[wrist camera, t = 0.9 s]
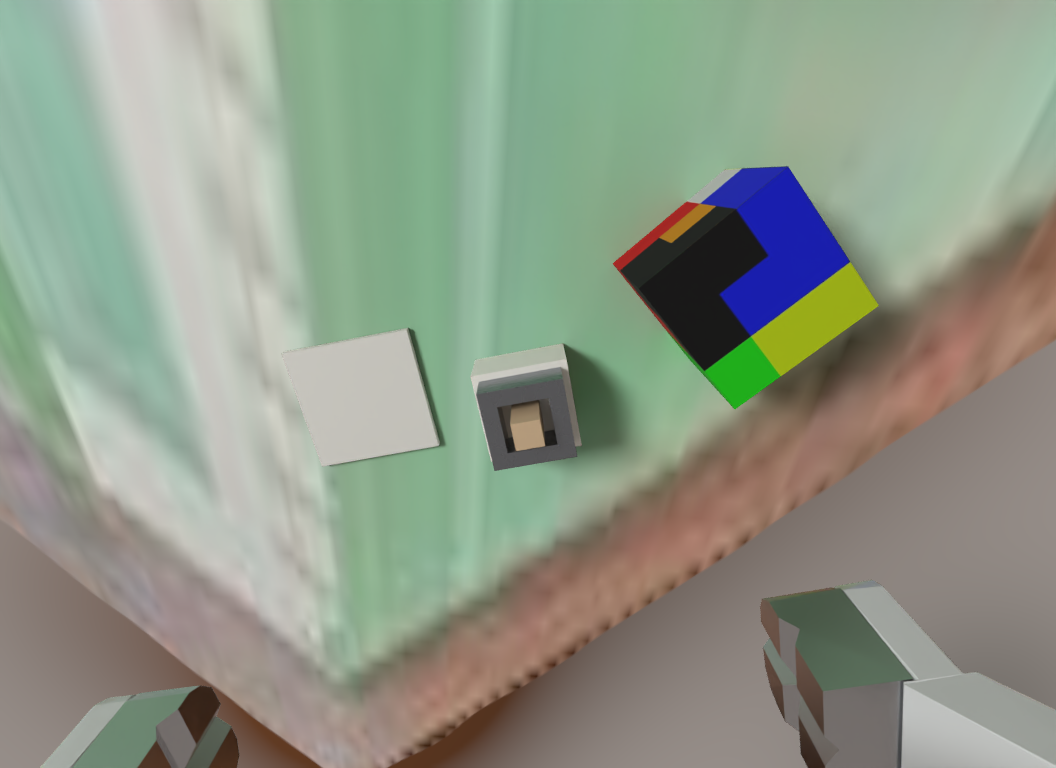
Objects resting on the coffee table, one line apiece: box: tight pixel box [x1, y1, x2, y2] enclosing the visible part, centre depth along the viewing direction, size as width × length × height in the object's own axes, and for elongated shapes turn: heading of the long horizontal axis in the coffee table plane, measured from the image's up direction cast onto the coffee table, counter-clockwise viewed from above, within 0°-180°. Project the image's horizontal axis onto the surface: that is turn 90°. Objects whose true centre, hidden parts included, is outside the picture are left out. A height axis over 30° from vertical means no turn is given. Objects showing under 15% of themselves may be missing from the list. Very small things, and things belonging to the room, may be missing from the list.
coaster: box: [281, 328, 440, 466], centre depth 45 cm, size 10×10×1 cm
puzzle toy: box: [613, 166, 879, 409], centre depth 37 cm, size 10×10×10 cm
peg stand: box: [471, 343, 582, 461], centre depth 41 cm, size 7×7×8 cm
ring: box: [476, 367, 577, 471], centre depth 40 cm, size 6×6×2 cm
